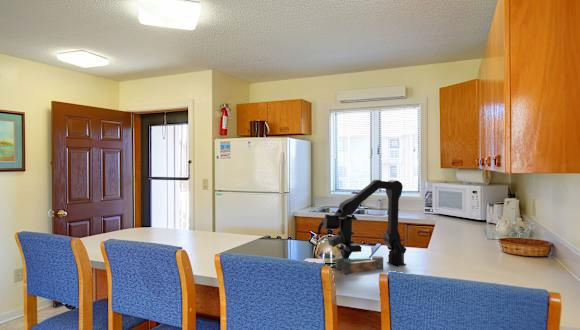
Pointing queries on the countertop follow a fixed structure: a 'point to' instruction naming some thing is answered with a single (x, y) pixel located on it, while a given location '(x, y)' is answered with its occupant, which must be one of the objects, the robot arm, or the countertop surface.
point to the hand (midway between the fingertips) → (344, 262)
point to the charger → (315, 260)
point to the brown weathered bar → (340, 261)
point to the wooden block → (363, 265)
